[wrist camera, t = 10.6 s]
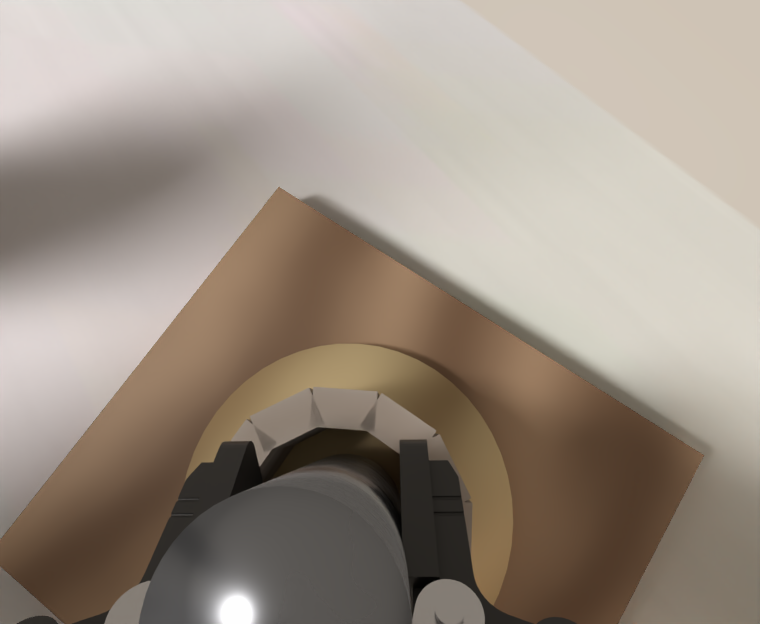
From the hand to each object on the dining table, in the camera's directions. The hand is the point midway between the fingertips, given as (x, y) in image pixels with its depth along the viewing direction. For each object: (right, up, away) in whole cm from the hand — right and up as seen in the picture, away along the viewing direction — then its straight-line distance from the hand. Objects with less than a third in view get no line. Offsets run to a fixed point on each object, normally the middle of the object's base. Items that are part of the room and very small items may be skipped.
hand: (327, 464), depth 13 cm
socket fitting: (0, -4, +7) cm, 7 cm away
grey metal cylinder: (0, -3, +4) cm, 4 cm away
